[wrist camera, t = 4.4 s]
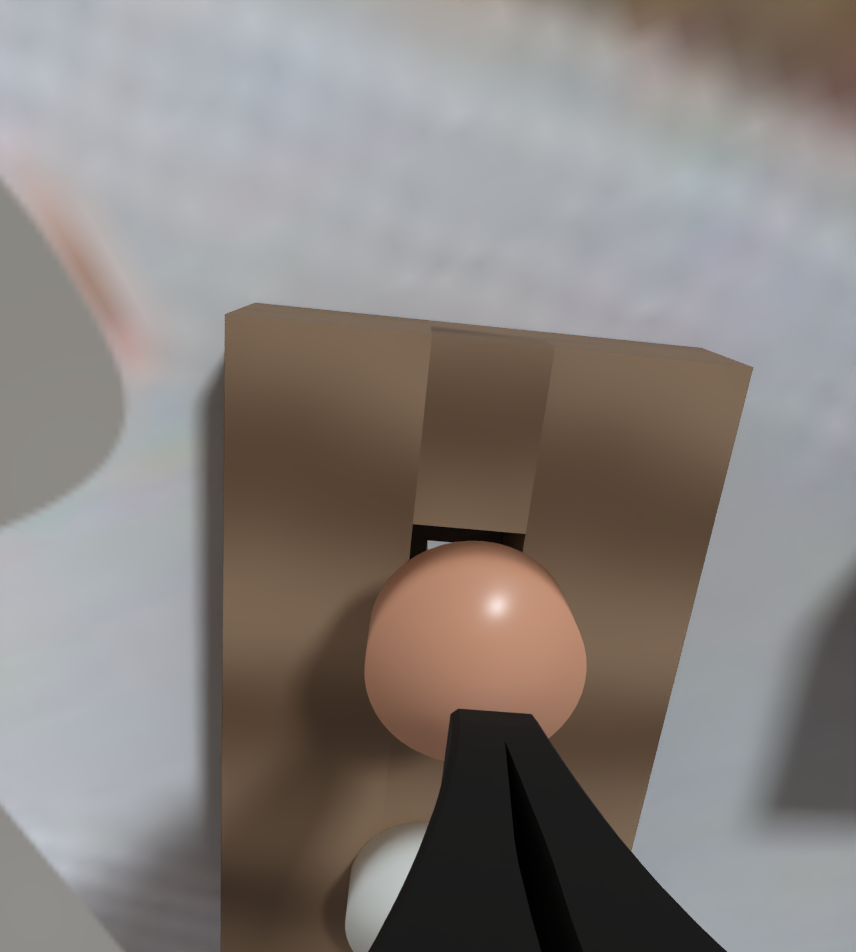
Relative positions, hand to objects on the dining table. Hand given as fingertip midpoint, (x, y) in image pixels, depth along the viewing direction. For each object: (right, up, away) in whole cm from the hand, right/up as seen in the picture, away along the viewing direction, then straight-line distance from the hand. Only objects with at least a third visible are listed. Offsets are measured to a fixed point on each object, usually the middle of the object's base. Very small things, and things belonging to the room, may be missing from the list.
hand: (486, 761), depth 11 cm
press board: (-1, -2, +10) cm, 11 cm away
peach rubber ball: (0, +2, +6) cm, 6 cm away
